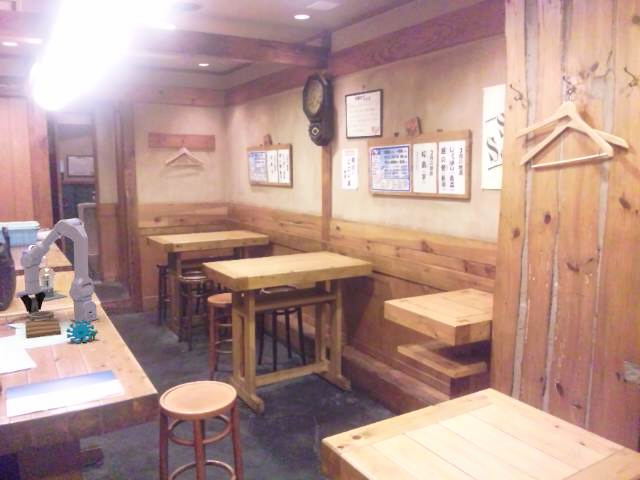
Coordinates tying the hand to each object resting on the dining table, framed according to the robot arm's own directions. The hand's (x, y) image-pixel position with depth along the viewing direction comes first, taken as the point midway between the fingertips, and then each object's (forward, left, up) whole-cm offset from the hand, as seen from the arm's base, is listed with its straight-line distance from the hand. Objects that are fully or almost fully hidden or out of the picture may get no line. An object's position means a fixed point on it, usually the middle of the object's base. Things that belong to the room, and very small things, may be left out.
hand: (33, 310), depth 238 cm
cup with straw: (+38, -26, -3) cm, 46 cm away
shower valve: (+29, -22, -3) cm, 36 cm away
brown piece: (-19, +6, -2) cm, 20 cm away
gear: (-49, +7, -3) cm, 49 cm away
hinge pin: (0, 0, -2) cm, 2 cm away
